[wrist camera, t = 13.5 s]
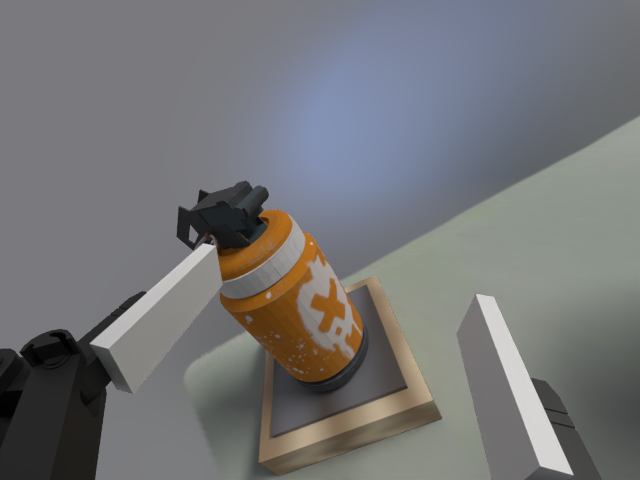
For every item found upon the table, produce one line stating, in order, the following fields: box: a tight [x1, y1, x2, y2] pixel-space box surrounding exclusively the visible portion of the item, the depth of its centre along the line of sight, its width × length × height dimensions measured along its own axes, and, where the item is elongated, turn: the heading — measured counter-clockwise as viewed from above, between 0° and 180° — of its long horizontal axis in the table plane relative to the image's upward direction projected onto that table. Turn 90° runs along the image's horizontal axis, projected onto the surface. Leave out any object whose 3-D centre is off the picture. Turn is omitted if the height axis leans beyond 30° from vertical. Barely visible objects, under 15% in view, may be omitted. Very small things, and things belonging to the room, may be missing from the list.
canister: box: [177, 181, 369, 391], centre depth 24 cm, size 9×11×20 cm
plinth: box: [259, 275, 442, 476], centre depth 30 cm, size 16×16×4 cm
